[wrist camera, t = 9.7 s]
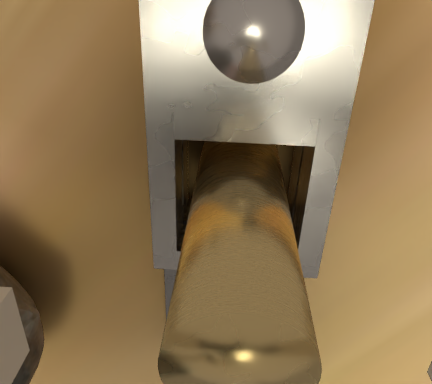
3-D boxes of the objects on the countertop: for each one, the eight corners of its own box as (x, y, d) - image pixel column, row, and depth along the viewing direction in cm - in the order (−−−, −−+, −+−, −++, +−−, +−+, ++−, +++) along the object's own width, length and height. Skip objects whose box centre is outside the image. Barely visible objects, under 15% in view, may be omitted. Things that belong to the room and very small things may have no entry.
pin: (202, 119, 22) (154, 307, 10) (282, 123, 22) (335, 319, 10) (200, 189, 24) (160, 414, 12) (273, 192, 24) (308, 425, 12)
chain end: (169, 214, 25) (150, 278, 20) (158, -157, 16) (120, -217, 11) (303, 221, 25) (319, 289, 20) (366, -152, 16) (427, -210, 11)
